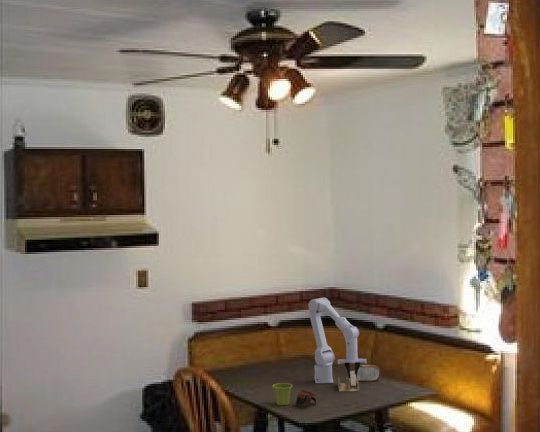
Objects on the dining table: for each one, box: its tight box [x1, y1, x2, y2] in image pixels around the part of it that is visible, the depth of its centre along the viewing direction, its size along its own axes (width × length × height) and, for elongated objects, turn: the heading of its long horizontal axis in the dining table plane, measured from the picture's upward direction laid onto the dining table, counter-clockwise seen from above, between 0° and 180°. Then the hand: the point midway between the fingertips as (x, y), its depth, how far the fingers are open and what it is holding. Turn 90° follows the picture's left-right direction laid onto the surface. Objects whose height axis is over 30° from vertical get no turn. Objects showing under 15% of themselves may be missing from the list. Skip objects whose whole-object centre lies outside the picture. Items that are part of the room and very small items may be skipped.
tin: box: [351, 364, 381, 382], centre depth 344 cm, size 15×3×8 cm, turn 84°
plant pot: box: [272, 382, 293, 406], centre depth 307 cm, size 9×9×9 cm
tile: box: [348, 370, 356, 386], centre depth 331 cm, size 2×9×5 cm, turn 178°
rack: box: [337, 376, 360, 392], centre depth 331 cm, size 10×12×4 cm
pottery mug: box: [295, 389, 317, 409], centre depth 303 cm, size 12×10×8 cm
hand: (352, 377), depth 331 cm, fingers closed on tile, 2 cm apart
